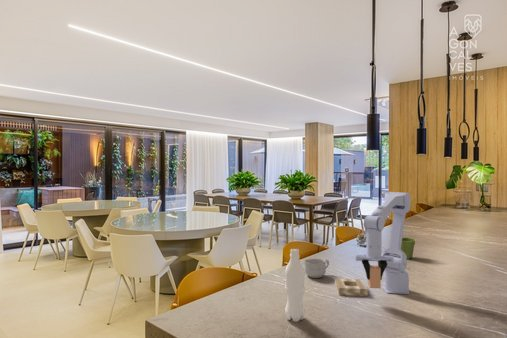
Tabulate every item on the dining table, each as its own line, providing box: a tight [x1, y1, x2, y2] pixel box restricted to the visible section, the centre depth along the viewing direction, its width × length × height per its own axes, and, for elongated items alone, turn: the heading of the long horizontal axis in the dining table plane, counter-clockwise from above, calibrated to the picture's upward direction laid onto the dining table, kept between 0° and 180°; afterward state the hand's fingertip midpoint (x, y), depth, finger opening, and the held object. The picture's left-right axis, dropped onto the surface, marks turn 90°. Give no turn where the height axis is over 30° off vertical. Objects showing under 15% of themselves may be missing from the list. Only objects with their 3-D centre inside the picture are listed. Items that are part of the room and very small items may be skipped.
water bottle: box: [284, 248, 306, 323], centre depth 116 cm, size 7×7×25 cm
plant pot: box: [398, 236, 417, 260], centre depth 195 cm, size 12×12×11 cm
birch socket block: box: [334, 277, 369, 297], centre depth 142 cm, size 12×12×3 cm
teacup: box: [303, 258, 330, 279], centre depth 162 cm, size 14×11×8 cm
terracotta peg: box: [367, 264, 382, 289], centre depth 129 cm, size 4×4×8 cm
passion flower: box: [353, 231, 366, 246], centre depth 226 cm, size 11×11×12 cm
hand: (374, 278), depth 129 cm, fingers closed on terracotta peg, 4 cm apart
